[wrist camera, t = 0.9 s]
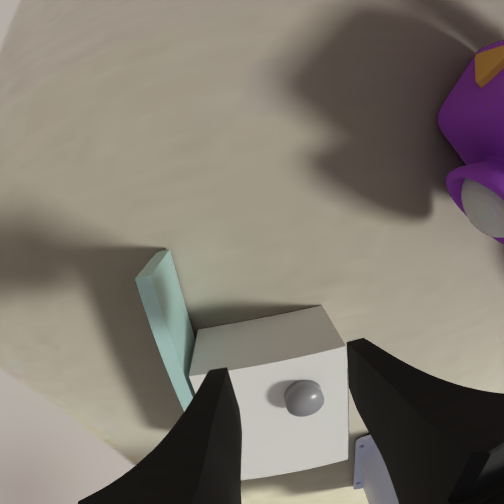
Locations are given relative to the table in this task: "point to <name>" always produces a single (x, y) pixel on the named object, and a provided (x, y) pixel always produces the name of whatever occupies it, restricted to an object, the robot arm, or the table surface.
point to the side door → (168, 321)
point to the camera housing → (282, 388)
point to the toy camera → (478, 140)
